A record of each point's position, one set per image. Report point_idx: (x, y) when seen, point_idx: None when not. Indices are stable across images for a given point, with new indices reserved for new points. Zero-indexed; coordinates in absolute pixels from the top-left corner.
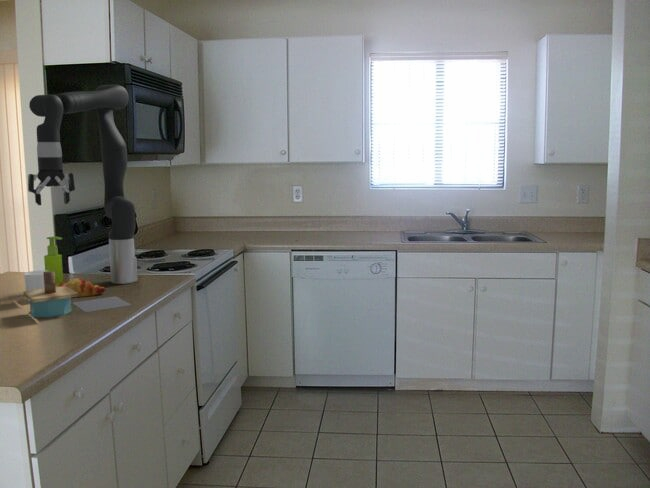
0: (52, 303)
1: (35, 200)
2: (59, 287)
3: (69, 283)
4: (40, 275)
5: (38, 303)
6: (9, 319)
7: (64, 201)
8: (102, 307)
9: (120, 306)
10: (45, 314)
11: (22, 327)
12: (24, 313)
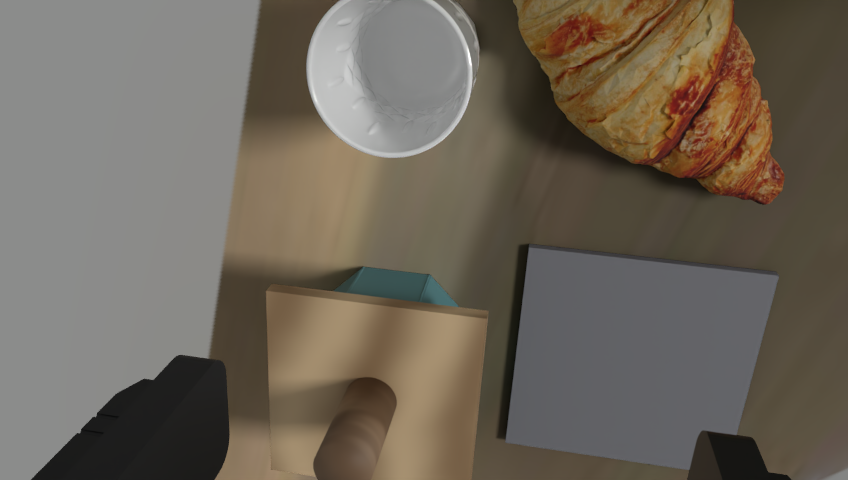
0: None
1: (101, 422)
2: (445, 329)
3: (593, 107)
4: (389, 154)
5: None
6: (231, 304)
7: (703, 474)
8: (599, 425)
9: (670, 464)
10: None
11: (252, 440)
12: (301, 252)
